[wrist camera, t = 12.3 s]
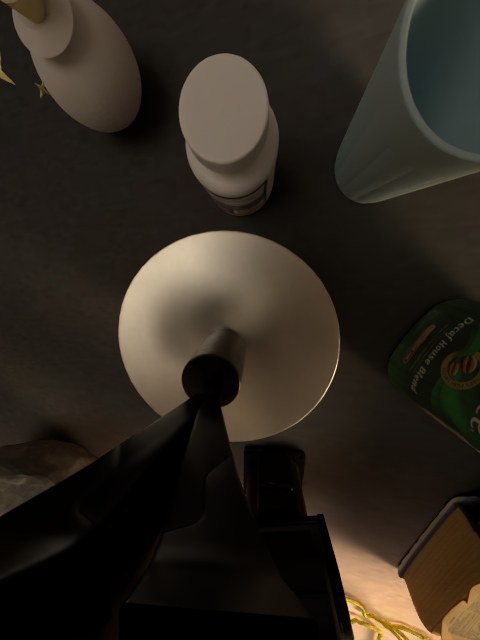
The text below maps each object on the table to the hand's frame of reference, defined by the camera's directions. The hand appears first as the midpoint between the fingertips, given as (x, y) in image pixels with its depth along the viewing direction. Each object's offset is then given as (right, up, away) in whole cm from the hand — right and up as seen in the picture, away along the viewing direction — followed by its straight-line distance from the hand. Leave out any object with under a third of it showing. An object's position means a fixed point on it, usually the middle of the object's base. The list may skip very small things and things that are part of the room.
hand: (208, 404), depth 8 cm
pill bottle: (+1, +15, +10) cm, 18 cm away
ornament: (-9, +20, +9) cm, 23 cm away
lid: (0, +2, +4) cm, 4 cm away
